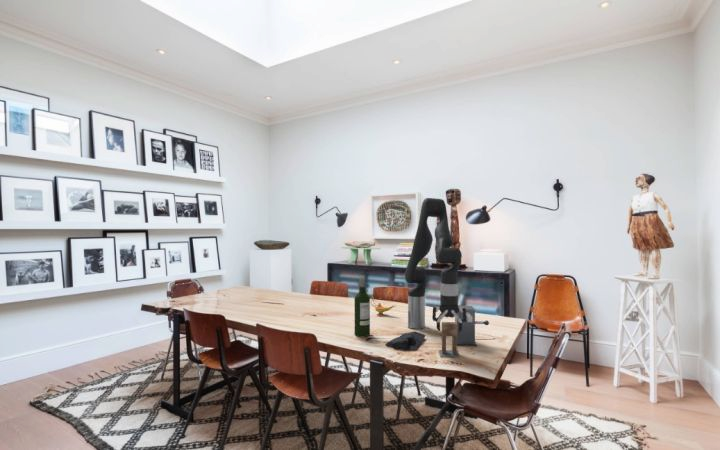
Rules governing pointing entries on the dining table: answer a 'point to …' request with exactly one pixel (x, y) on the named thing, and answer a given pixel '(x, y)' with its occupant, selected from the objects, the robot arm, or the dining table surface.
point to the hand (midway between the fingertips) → (449, 330)
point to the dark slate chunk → (407, 341)
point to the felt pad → (449, 354)
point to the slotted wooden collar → (448, 330)
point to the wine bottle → (362, 311)
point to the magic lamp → (381, 308)
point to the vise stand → (467, 327)
